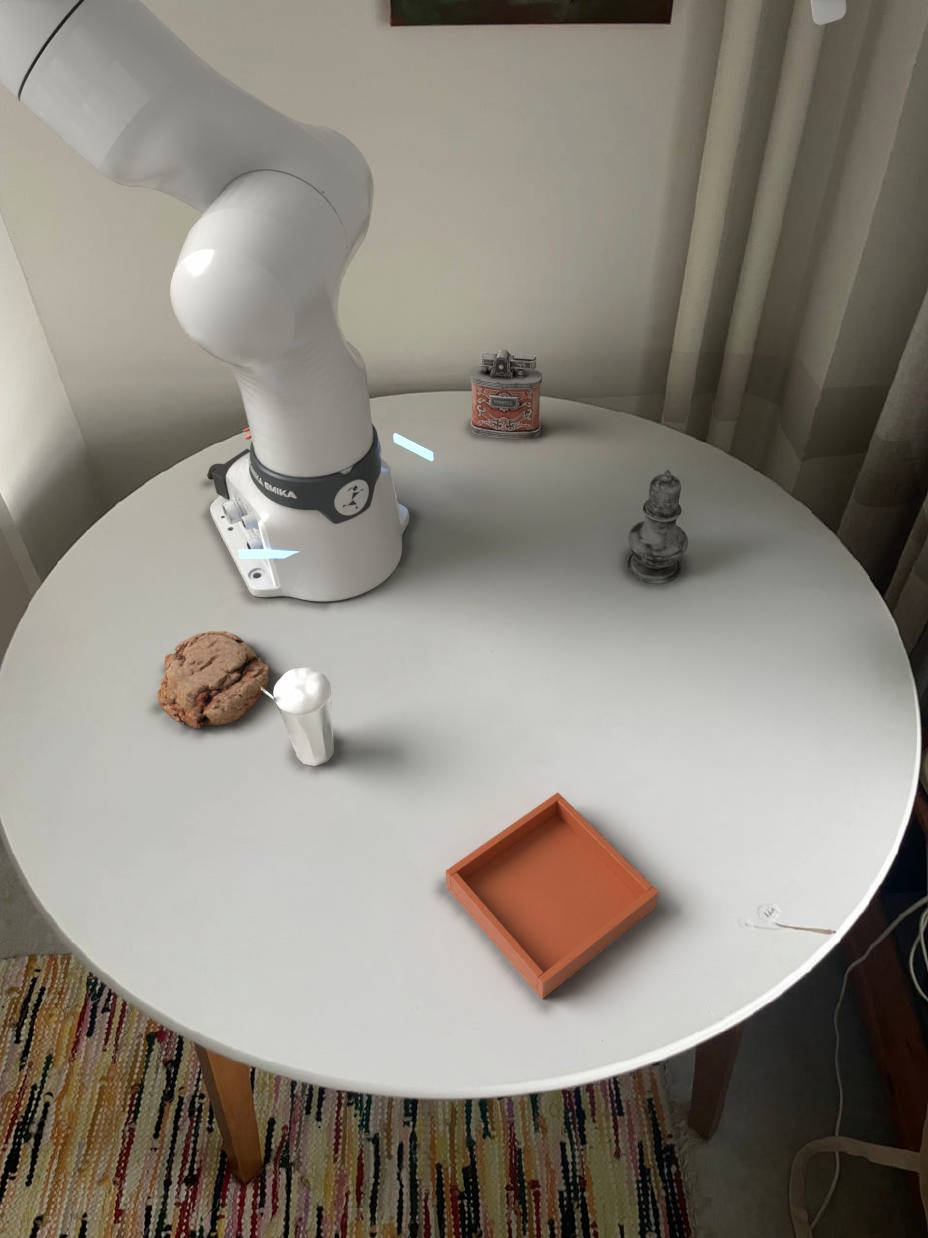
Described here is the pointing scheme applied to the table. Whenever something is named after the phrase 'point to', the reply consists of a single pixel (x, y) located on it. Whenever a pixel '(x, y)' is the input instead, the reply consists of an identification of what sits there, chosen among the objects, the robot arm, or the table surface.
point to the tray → (551, 893)
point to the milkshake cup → (306, 713)
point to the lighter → (506, 396)
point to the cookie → (211, 680)
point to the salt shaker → (658, 534)
